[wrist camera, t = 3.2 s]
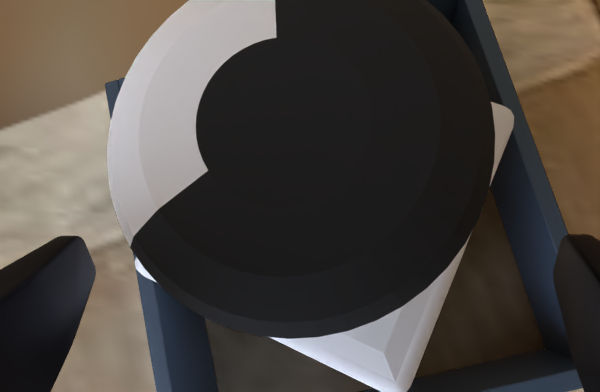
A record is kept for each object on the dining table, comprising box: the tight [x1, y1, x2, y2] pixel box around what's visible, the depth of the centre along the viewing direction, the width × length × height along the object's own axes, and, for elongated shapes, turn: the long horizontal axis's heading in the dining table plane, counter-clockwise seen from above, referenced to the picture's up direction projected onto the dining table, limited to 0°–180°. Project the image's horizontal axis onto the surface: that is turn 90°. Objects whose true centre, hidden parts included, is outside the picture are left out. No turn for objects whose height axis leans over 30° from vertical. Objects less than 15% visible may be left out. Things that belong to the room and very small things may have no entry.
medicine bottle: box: [107, 0, 514, 392], centre depth 13 cm, size 7×7×12 cm
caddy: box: [105, 0, 583, 392], centre depth 17 cm, size 12×12×4 cm
